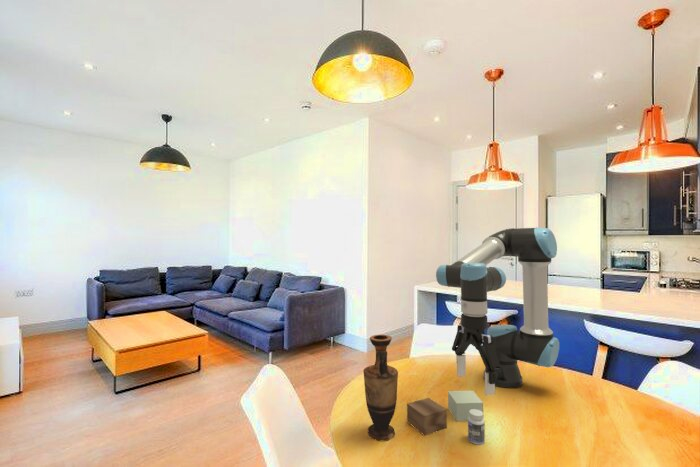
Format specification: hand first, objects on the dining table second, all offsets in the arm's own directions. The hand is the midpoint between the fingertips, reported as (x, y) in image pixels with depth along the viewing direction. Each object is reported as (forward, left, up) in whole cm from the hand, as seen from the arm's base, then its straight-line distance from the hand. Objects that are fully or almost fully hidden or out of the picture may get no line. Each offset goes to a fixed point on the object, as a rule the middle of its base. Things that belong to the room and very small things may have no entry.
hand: (474, 384), depth 103 cm
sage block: (-6, -14, -17) cm, 23 cm away
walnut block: (+10, -12, -17) cm, 23 cm away
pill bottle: (0, 0, -17) cm, 17 cm away
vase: (+26, -12, -17) cm, 33 cm away
